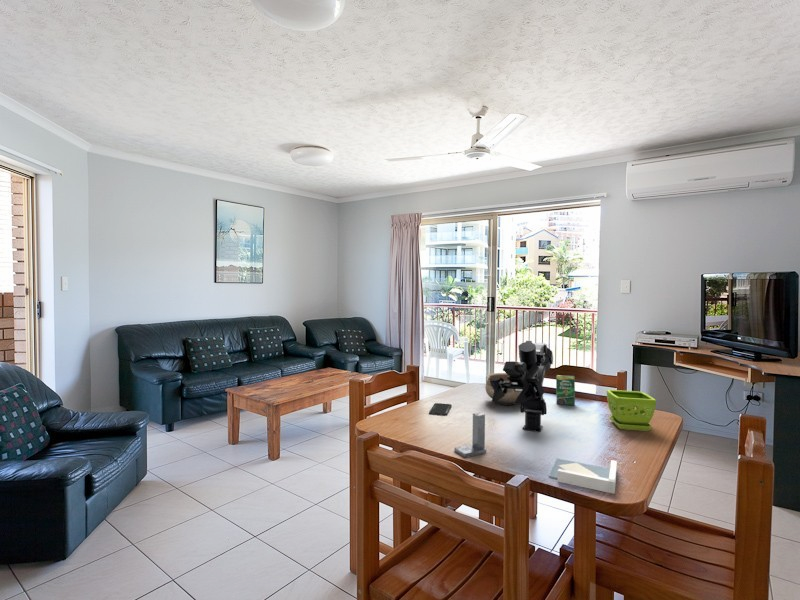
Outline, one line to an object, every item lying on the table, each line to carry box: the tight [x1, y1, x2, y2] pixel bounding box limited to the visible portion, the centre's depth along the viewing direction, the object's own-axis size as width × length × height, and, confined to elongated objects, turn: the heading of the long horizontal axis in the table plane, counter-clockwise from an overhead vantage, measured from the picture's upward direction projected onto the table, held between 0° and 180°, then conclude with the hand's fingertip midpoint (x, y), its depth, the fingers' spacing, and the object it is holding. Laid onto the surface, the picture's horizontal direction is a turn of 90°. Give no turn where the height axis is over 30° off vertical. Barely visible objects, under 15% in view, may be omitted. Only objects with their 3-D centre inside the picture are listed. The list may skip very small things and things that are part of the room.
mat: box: [548, 458, 610, 480], centre depth 120 cm, size 14×15×1 cm
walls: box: [557, 459, 618, 495], centre depth 119 cm, size 16×14×3 cm
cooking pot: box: [485, 372, 521, 406], centre depth 194 cm, size 25×19×12 cm
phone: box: [428, 402, 452, 417], centre depth 183 cm, size 8×1×15 cm
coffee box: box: [555, 374, 576, 406], centre depth 193 cm, size 8×3×13 cm, turn 70°
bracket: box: [454, 412, 487, 458], centre depth 136 cm, size 9×6×12 cm, turn 116°
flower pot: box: [606, 389, 657, 432], centre depth 162 cm, size 14×14×13 cm
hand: (504, 402), depth 139 cm, fingers open, 9 cm apart
